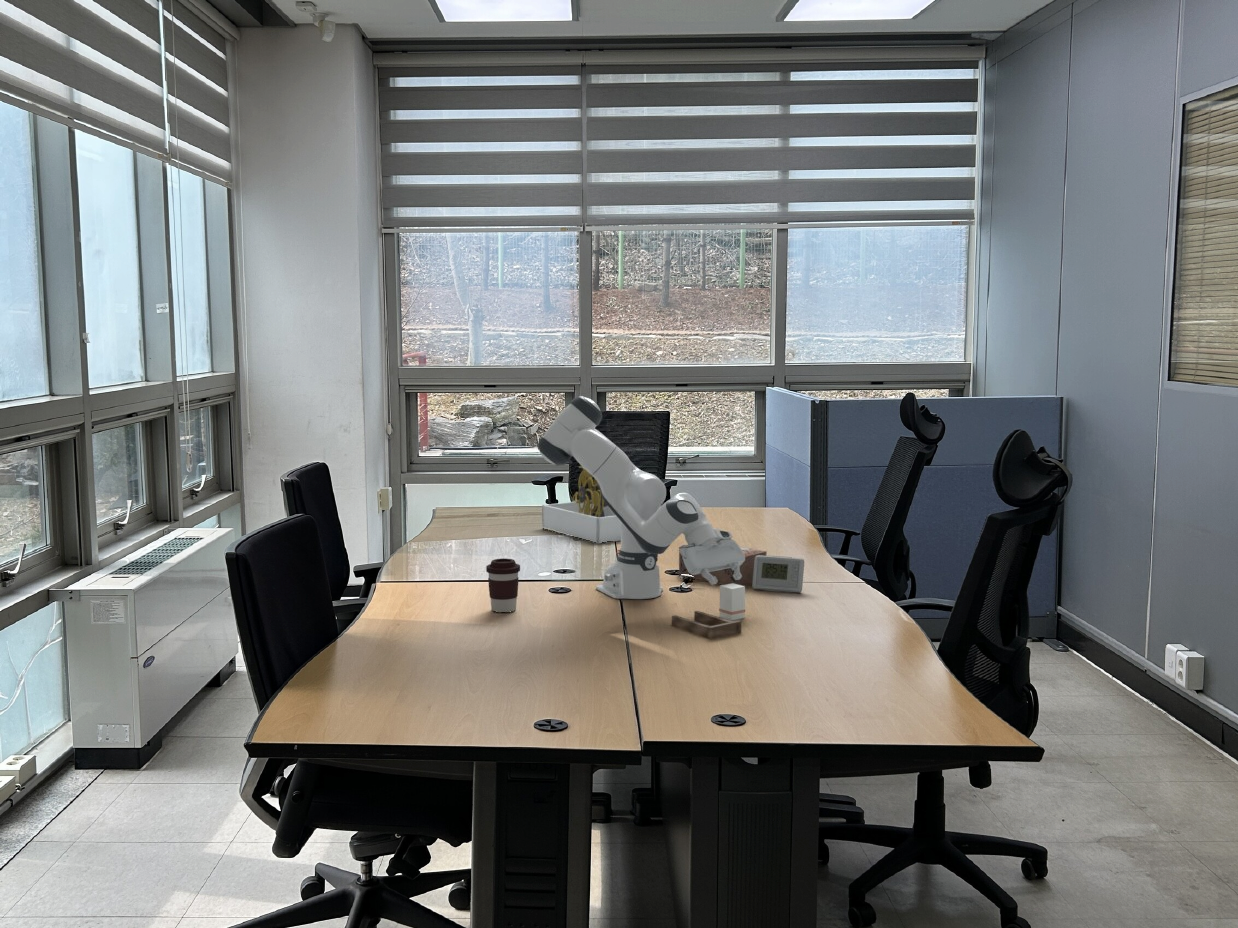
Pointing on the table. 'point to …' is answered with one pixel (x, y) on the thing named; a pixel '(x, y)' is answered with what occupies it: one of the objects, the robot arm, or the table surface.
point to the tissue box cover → (727, 574)
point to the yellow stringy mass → (589, 495)
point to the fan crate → (581, 522)
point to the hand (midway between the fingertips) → (727, 580)
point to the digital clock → (778, 574)
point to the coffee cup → (503, 584)
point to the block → (732, 601)
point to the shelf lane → (707, 625)
